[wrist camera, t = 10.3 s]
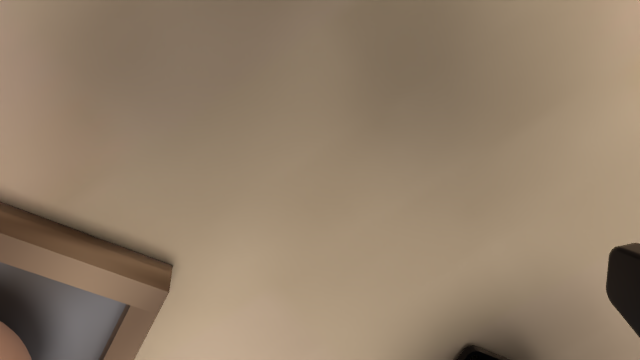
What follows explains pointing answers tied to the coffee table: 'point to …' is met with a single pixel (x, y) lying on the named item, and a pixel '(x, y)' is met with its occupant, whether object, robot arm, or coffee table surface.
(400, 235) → the coffee table surface
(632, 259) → the robot arm
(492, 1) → the coffee table surface
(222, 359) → the coffee table surface
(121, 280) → the walnut tray
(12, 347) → the ball
